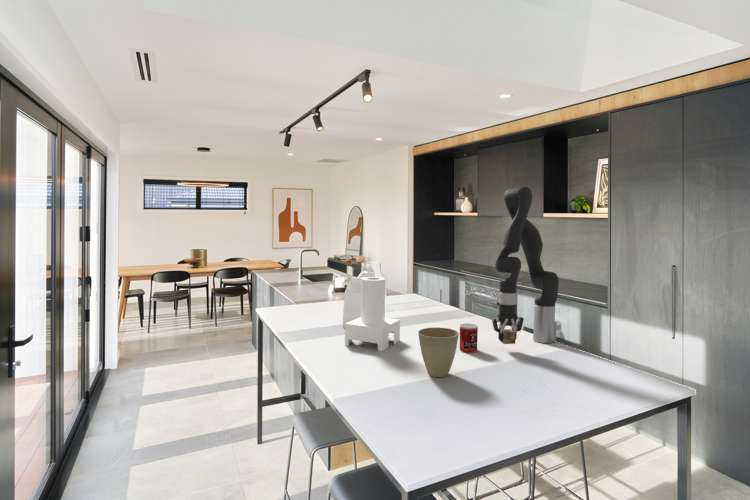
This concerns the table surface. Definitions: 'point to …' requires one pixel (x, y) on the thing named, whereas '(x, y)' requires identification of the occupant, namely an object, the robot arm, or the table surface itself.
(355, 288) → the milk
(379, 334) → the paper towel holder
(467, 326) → the canned food
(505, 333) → the walnut cube
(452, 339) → the plant pot
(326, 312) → the table surface
